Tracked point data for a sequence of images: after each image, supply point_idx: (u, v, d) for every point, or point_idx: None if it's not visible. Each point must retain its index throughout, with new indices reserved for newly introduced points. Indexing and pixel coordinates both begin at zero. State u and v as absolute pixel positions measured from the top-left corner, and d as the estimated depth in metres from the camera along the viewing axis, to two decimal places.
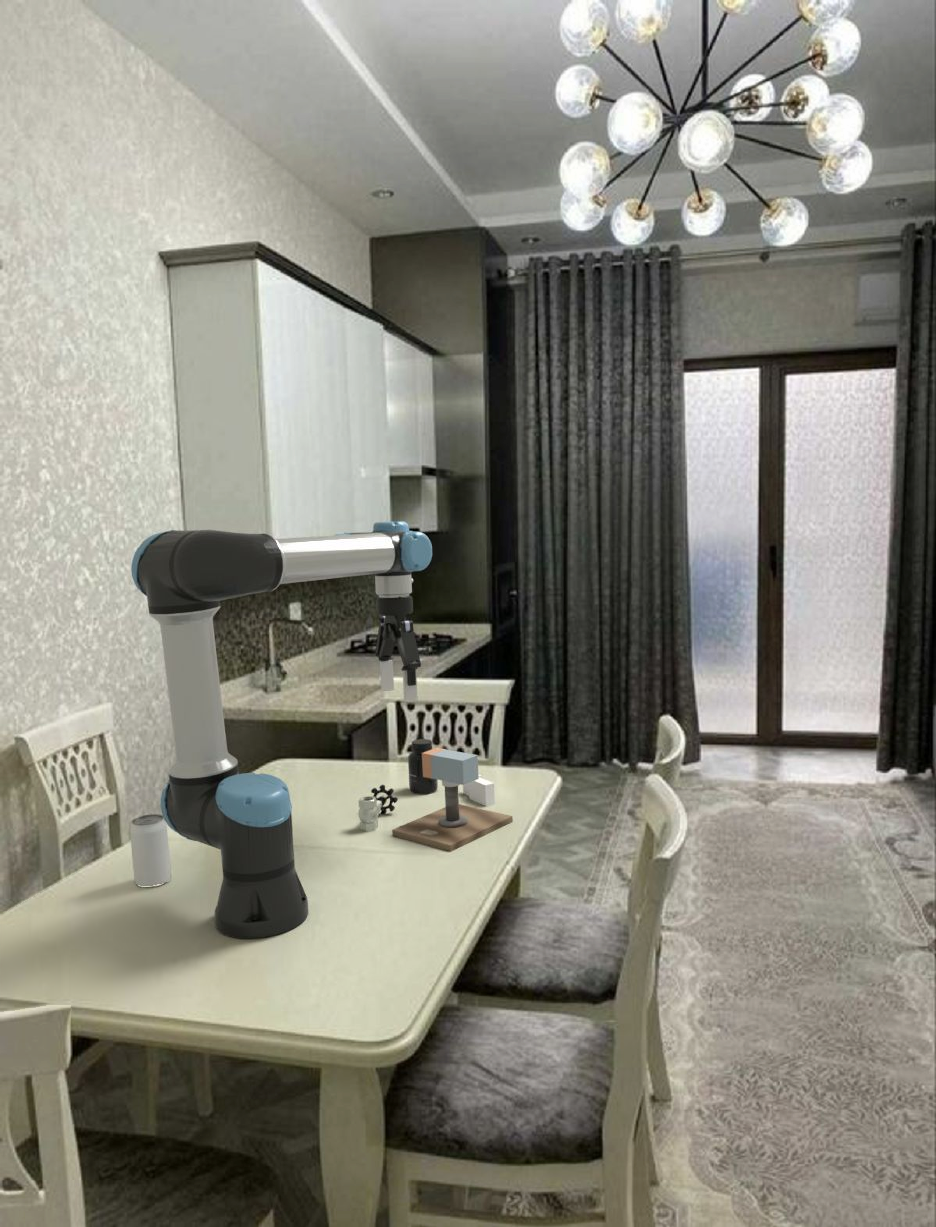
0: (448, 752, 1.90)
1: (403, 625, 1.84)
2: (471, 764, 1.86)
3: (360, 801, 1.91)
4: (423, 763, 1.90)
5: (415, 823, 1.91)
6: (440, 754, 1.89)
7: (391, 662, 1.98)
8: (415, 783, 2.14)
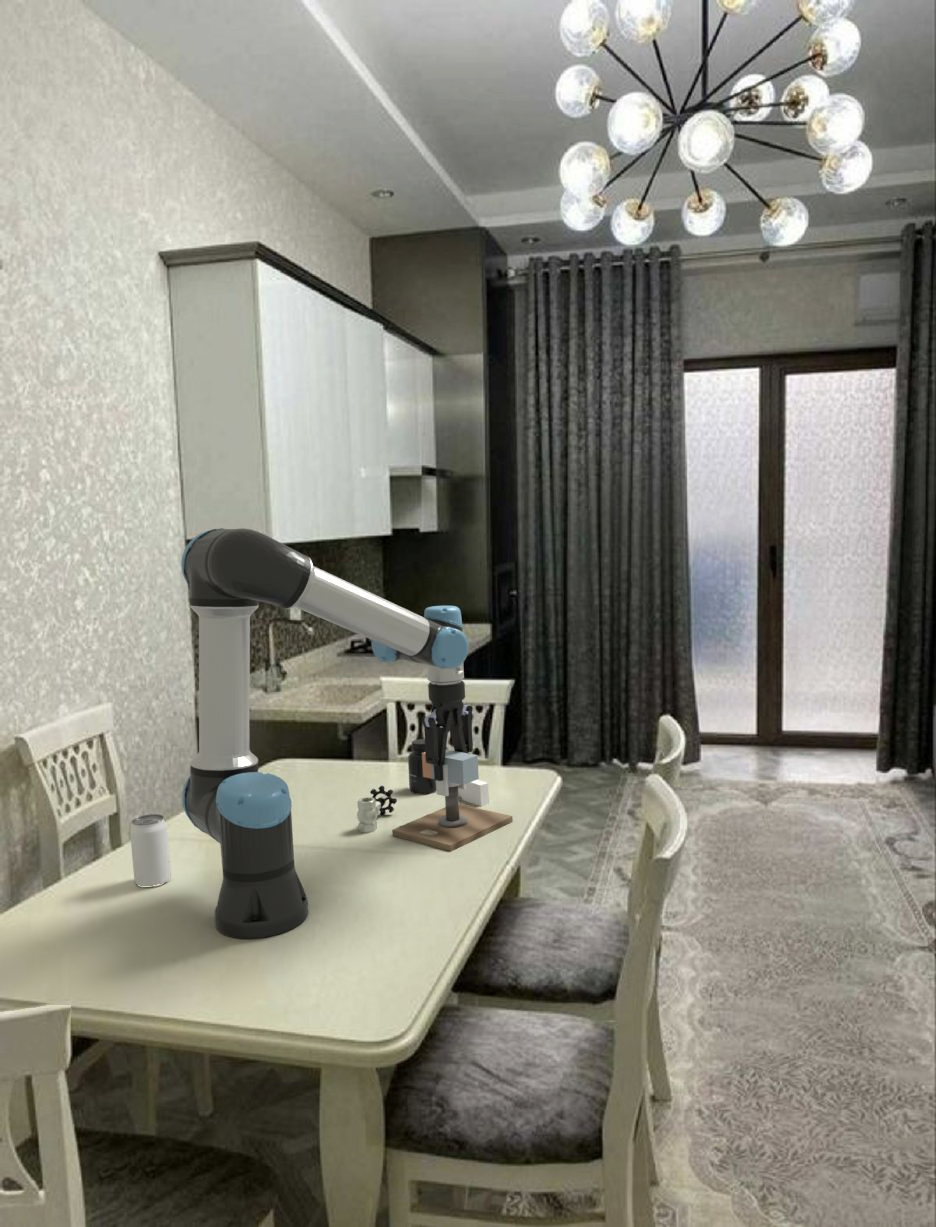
0: (448, 752, 1.90)
1: (423, 722, 1.83)
2: (471, 764, 1.86)
3: (359, 802, 1.91)
4: (423, 763, 1.90)
5: (415, 823, 1.91)
6: None
7: None
8: (415, 783, 2.14)
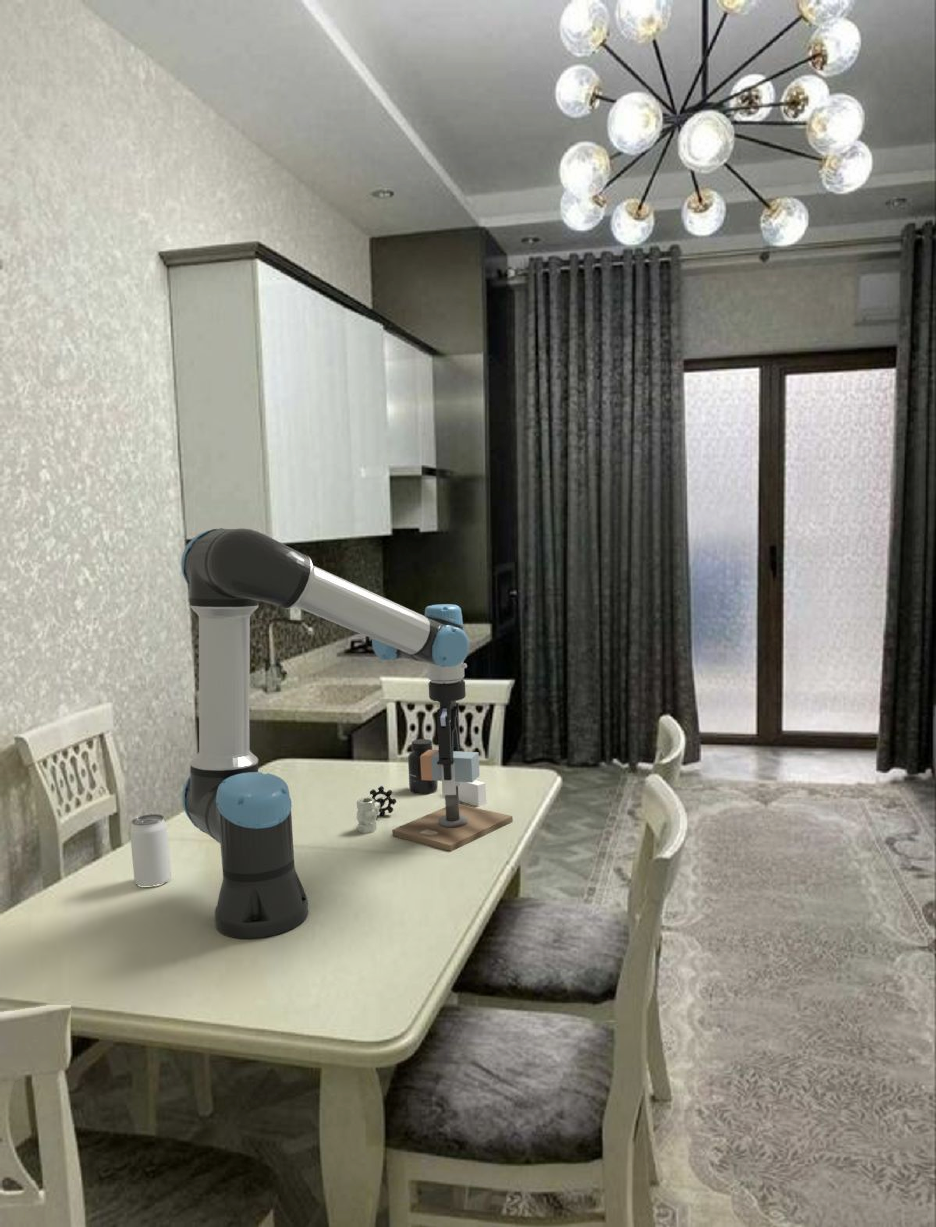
0: None
1: (438, 721, 1.81)
2: (475, 761, 1.87)
3: (358, 803, 1.90)
4: (422, 766, 1.88)
5: (415, 823, 1.91)
6: None
7: None
8: (415, 783, 2.14)
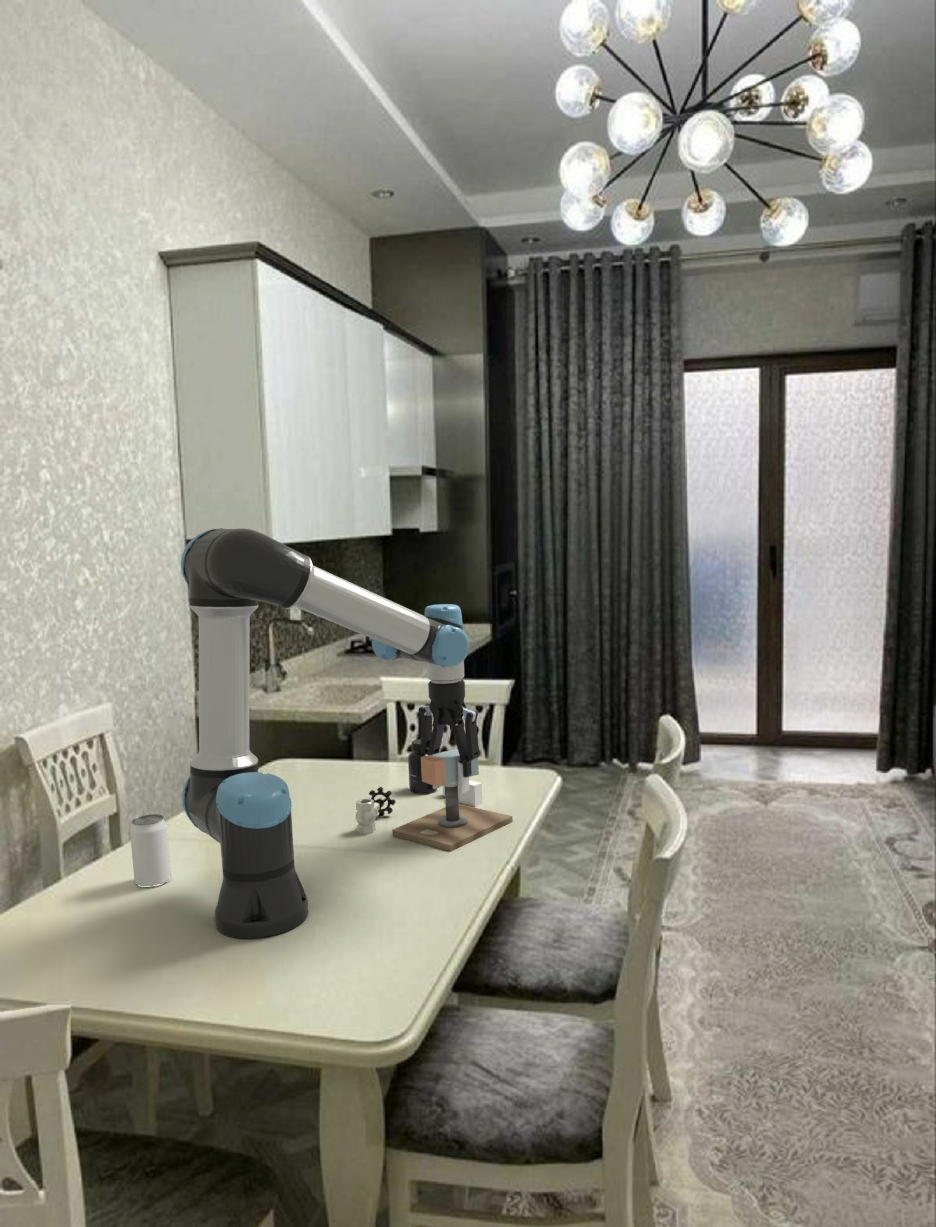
0: (443, 754, 1.89)
1: (471, 717, 1.83)
2: None
3: (357, 804, 1.90)
4: (436, 772, 1.84)
5: (415, 823, 1.91)
6: (446, 756, 1.87)
7: None
8: (415, 783, 2.14)
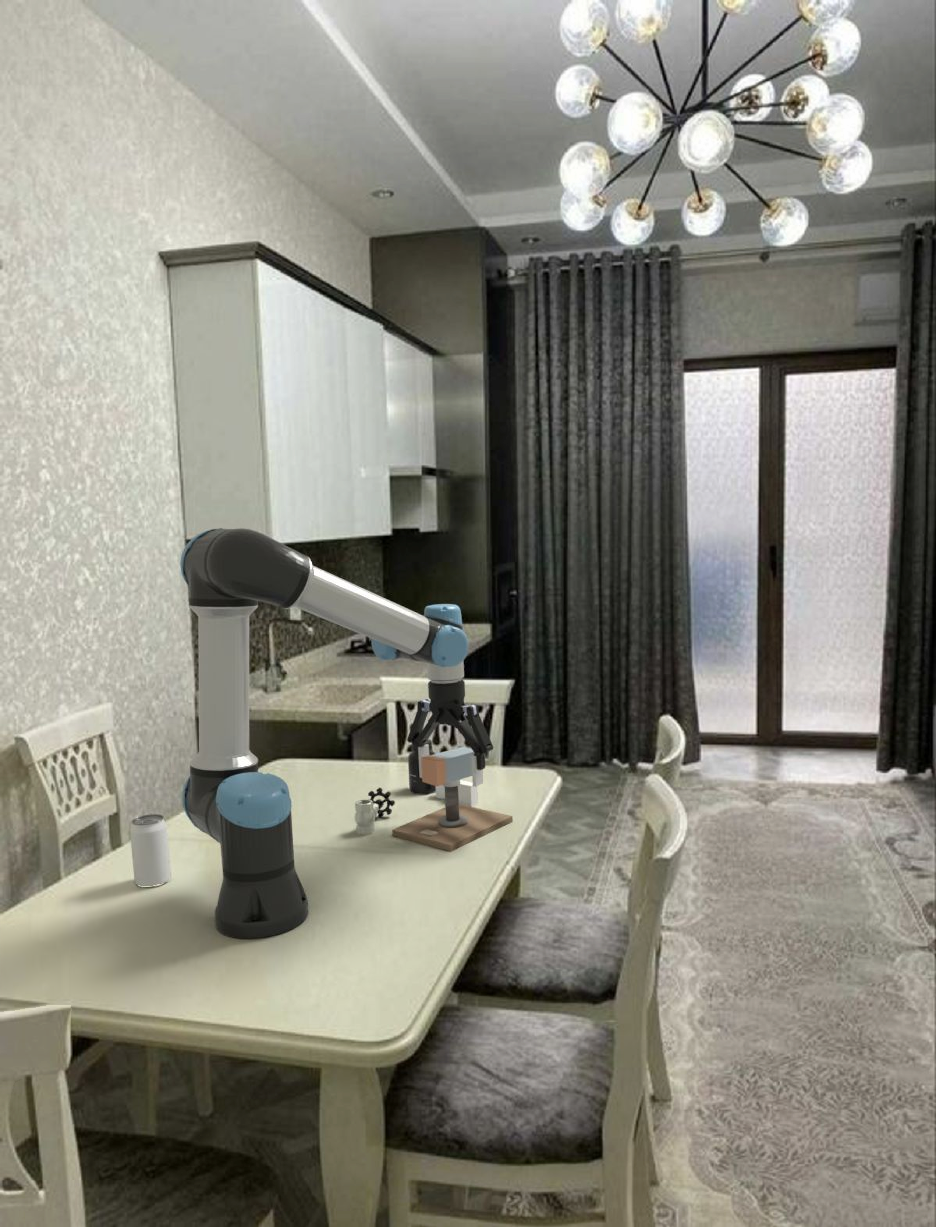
0: (443, 754, 1.89)
1: (472, 710, 1.83)
2: None
3: (356, 804, 1.89)
4: (437, 772, 1.84)
5: (415, 823, 1.91)
6: (447, 756, 1.87)
7: (427, 746, 1.93)
8: (415, 783, 2.14)
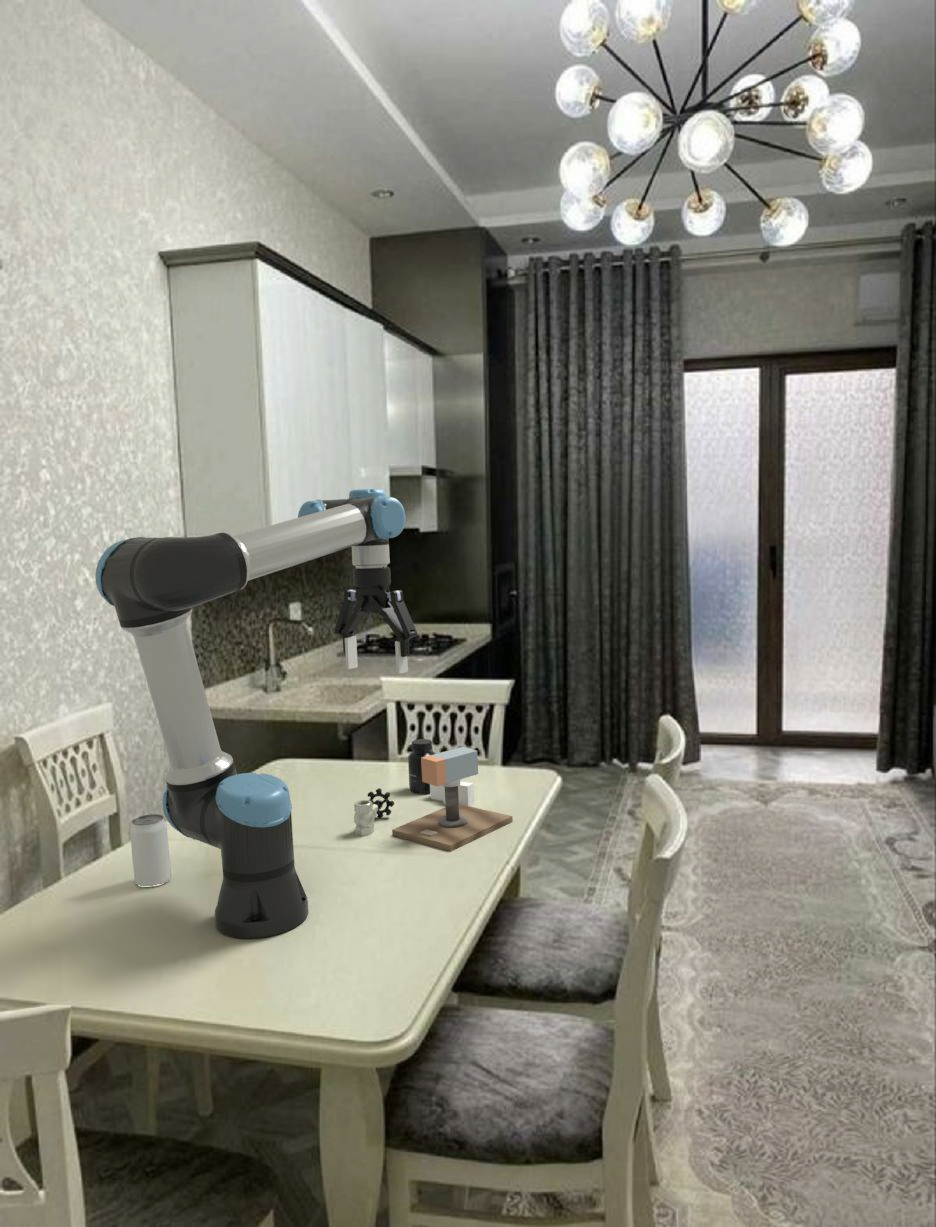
0: (443, 754, 1.89)
1: (395, 595, 1.79)
2: None
3: (356, 805, 1.89)
4: (437, 772, 1.84)
5: (415, 823, 1.91)
6: (447, 756, 1.87)
7: (355, 638, 1.90)
8: (415, 783, 2.14)
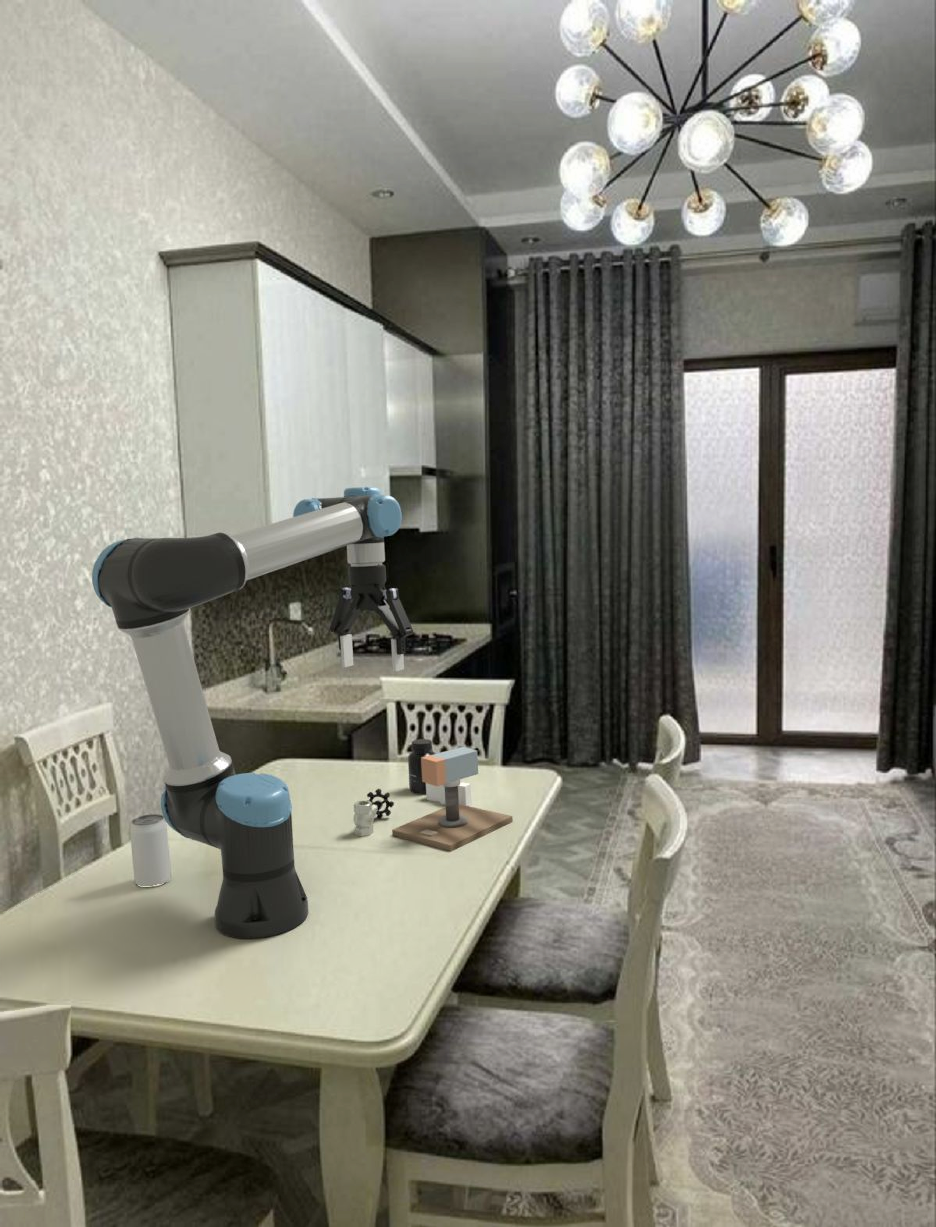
0: (443, 754, 1.89)
1: (391, 593, 1.80)
2: None
3: (355, 805, 1.88)
4: (437, 772, 1.84)
5: (415, 823, 1.91)
6: (447, 756, 1.87)
7: (350, 636, 1.90)
8: (415, 783, 2.14)
